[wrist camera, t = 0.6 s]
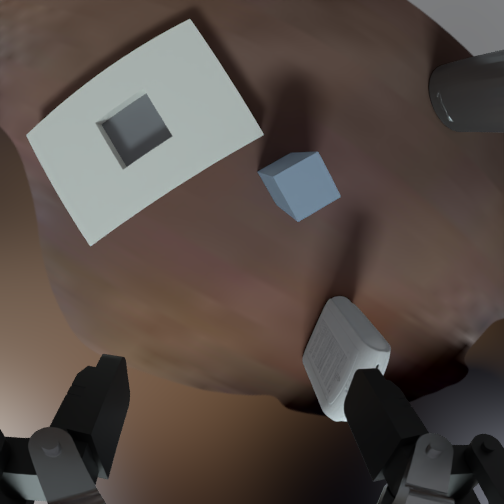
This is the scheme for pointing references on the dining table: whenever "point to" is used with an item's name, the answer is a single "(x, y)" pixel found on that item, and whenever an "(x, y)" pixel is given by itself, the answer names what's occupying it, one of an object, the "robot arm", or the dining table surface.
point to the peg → (299, 184)
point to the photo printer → (342, 353)
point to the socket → (141, 130)
